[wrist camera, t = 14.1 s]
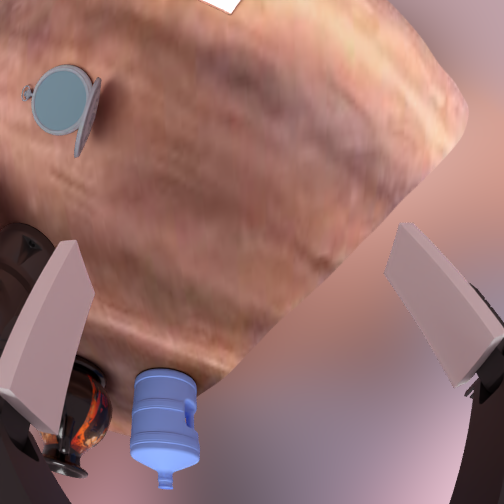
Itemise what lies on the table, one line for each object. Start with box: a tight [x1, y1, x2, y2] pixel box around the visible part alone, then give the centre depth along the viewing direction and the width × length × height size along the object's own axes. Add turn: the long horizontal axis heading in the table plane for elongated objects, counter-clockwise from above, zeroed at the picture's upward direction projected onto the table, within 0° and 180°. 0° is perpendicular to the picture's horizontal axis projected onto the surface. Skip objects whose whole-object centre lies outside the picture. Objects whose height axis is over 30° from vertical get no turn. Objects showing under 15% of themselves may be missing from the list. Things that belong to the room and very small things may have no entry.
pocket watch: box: [21, 65, 101, 158], centre depth 27 cm, size 10×11×15 cm
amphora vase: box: [37, 356, 112, 478], centre depth 52 cm, size 22×22×28 cm
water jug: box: [130, 369, 200, 489], centre depth 58 cm, size 16×16×28 cm
